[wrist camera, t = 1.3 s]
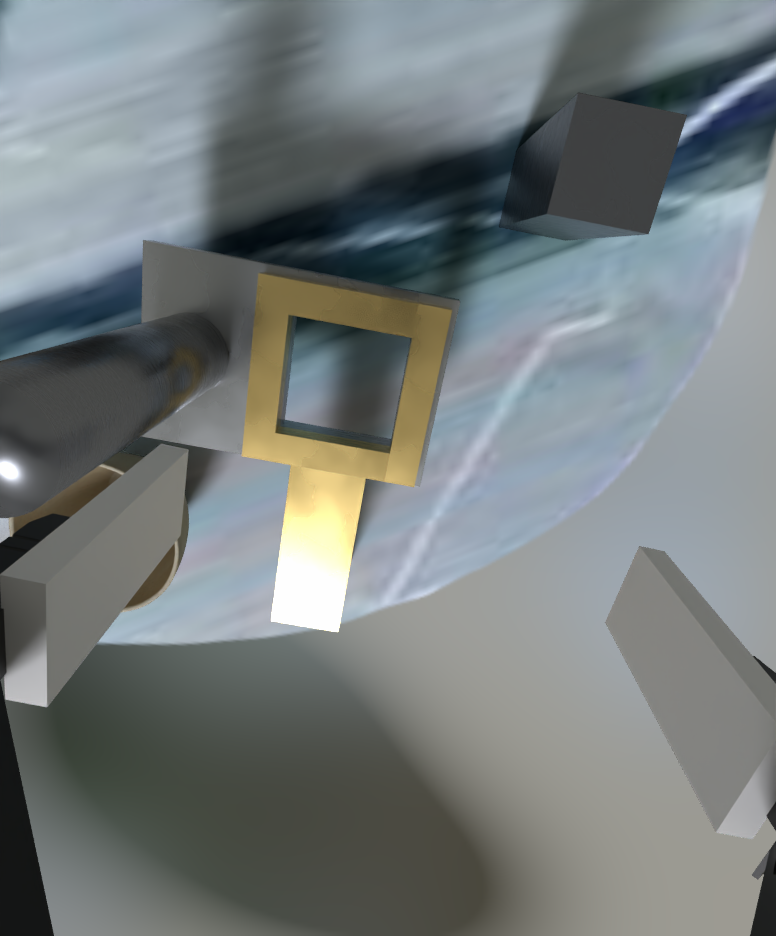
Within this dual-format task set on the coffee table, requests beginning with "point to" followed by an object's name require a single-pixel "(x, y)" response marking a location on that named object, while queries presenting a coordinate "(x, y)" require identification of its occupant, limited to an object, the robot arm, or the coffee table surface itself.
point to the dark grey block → (592, 170)
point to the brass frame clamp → (229, 401)
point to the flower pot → (88, 490)
